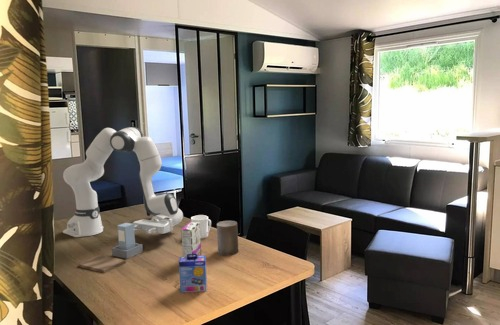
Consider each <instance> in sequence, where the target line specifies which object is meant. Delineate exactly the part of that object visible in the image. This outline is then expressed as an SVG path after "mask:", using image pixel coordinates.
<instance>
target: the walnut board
mask: <svg viewBox="0 0 500 325" xmlns="http://www.w3.org/2000/svg"><path fill="white" fill-rule="evenodd" d="M126 263H127V262H126V260H125V259H123V258H122V259H120V258H118V257H117V258H116V257H112V256H107V255H103V254H98V255H97V256H94V257H91V258H88V259H87V260H85V261H82V262H79V263H78V268H83V269H88V270H91V271H95V272H99V273H102V274H105V273H107V272H109V271H111V270H114V269H115V268H116V269H117V268H118V267H120V266H123V265H124V264H126Z"/></svg>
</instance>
